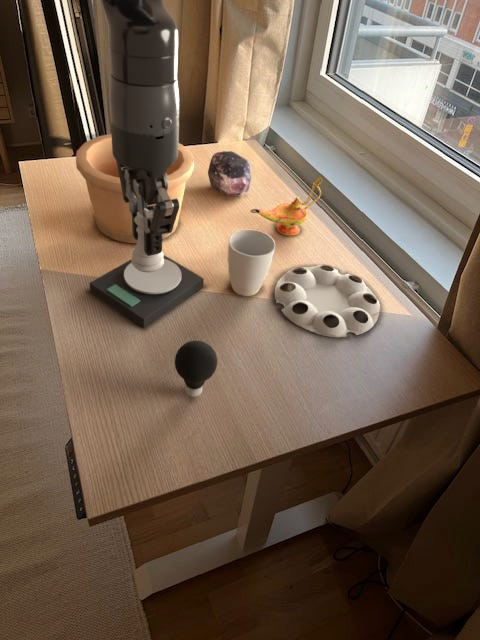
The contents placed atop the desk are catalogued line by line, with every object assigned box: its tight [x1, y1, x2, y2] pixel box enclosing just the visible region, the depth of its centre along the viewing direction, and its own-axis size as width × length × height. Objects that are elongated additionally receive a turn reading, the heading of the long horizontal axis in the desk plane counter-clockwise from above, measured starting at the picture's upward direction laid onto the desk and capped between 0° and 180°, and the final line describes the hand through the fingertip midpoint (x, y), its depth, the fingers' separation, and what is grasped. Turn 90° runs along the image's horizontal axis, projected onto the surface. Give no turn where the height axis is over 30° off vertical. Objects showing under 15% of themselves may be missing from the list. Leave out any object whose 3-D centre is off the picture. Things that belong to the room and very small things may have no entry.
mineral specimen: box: [207, 150, 252, 198], centre depth 117 cm, size 10×10×10 cm
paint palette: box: [274, 264, 381, 338], centre depth 95 cm, size 20×20×2 cm
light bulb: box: [174, 339, 218, 398], centre depth 73 cm, size 6×6×10 cm
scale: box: [89, 254, 205, 328], centre depth 91 cm, size 15×13×3 cm
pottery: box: [75, 133, 195, 245], centre depth 103 cm, size 22×22×14 cm
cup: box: [227, 228, 276, 297], centre depth 92 cm, size 8×8×10 cm
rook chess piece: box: [130, 212, 165, 272], centre depth 68 cm, size 4×4×8 cm
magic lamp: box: [250, 176, 323, 236], centre depth 107 cm, size 7×18×11 cm, turn 122°
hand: (147, 244), depth 69 cm, fingers closed on rook chess piece, 3 cm apart
